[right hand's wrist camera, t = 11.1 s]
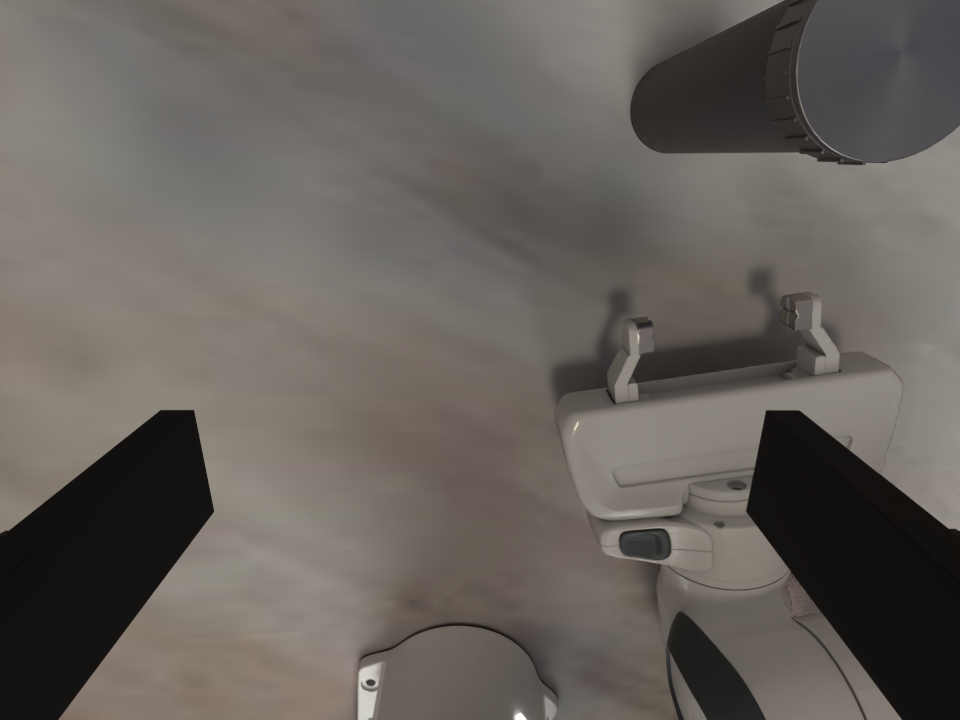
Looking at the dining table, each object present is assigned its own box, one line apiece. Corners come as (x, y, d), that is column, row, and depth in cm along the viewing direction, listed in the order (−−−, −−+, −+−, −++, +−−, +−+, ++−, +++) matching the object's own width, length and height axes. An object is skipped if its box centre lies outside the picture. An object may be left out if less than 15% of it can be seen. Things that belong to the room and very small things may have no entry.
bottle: (612, 108, 34) (762, 56, 16) (680, 37, 33) (926, -105, 15) (666, 171, 35) (861, 189, 17) (734, 106, 34) (1020, 52, 16)
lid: (723, 63, 17) (750, 53, 16) (894, -107, 16) (944, -139, 14) (831, 203, 19) (866, 207, 17) (997, 59, 17) (1053, 48, 16)
